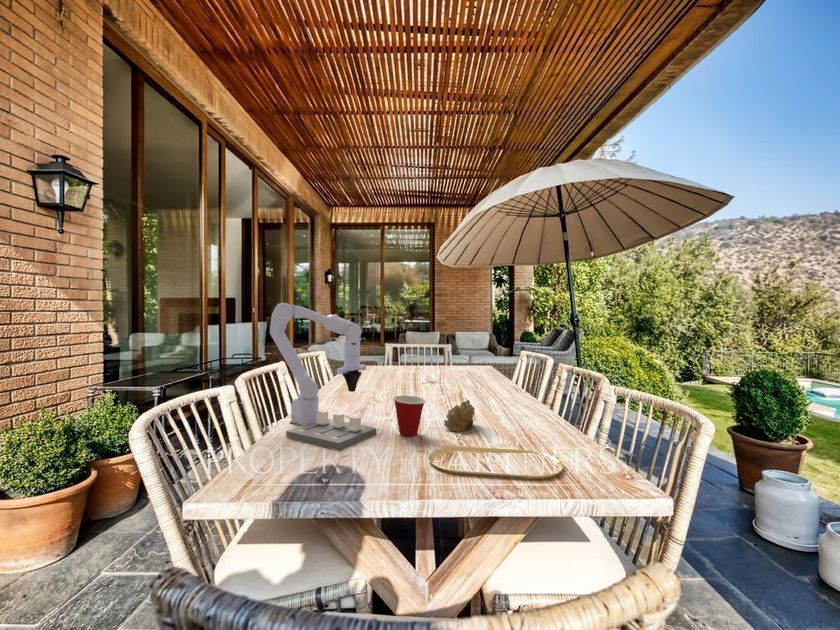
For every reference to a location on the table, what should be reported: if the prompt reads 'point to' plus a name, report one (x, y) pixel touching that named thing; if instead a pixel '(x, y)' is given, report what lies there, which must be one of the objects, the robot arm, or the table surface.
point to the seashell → (460, 417)
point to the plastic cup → (408, 414)
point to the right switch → (354, 423)
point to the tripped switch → (338, 420)
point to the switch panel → (330, 434)
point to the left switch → (322, 417)
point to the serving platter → (483, 450)
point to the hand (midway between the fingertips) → (351, 391)
